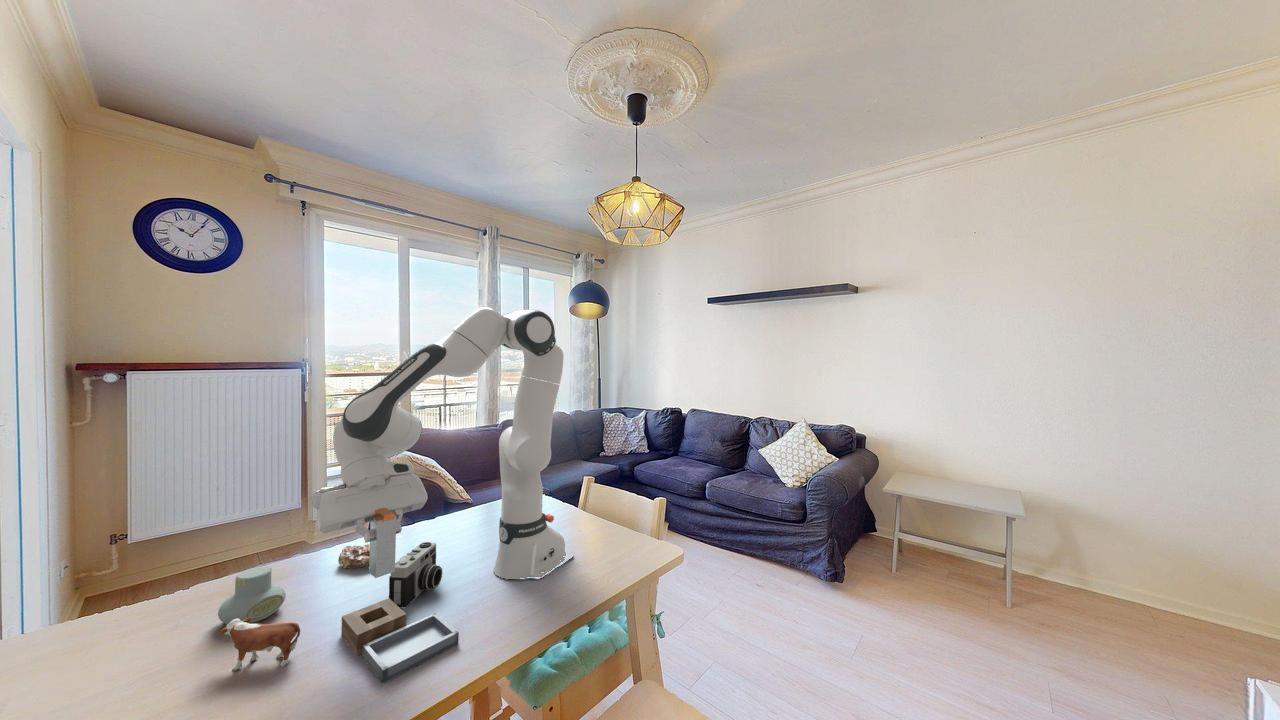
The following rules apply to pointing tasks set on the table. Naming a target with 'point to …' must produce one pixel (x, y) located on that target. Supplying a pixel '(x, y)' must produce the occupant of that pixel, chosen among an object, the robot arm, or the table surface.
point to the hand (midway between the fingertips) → (384, 536)
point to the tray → (409, 646)
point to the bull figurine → (261, 638)
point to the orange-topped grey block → (383, 543)
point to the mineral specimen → (355, 556)
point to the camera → (414, 574)
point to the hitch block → (371, 624)
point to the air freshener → (252, 597)
